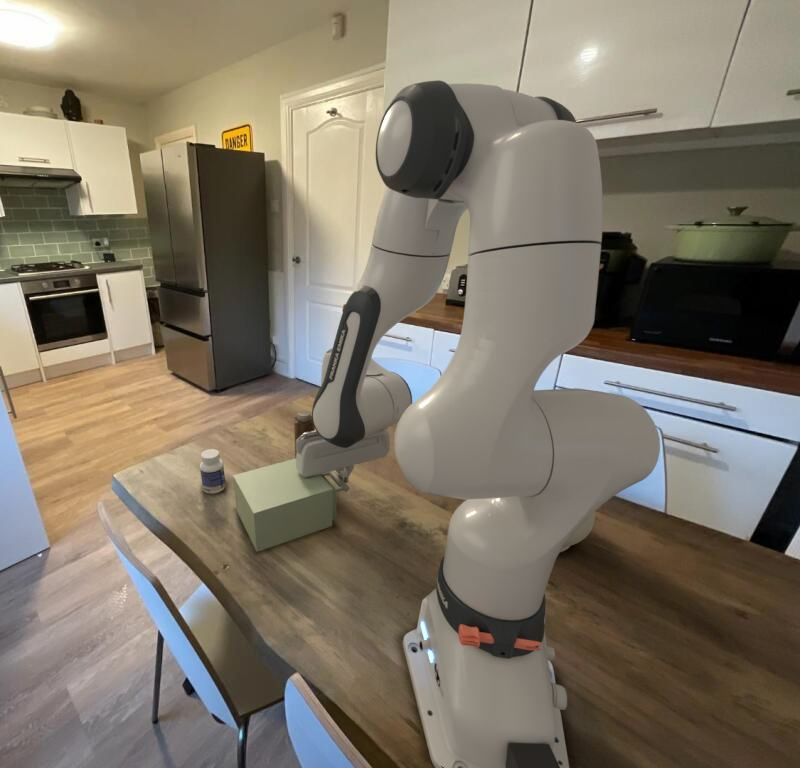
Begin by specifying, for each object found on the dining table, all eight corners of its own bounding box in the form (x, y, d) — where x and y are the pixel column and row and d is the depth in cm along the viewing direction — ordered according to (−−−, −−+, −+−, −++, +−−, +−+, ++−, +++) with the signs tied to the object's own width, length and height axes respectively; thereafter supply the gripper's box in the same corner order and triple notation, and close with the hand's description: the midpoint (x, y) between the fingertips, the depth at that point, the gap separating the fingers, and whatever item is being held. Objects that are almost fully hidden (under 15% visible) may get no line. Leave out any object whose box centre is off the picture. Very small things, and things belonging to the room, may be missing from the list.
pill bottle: (228, 490, 92) (224, 456, 88) (205, 496, 90) (200, 462, 86) (222, 478, 96) (219, 445, 93) (200, 483, 94) (196, 450, 91)
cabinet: (304, 489, 91) (303, 456, 88) (332, 525, 80) (332, 488, 77) (236, 510, 85) (232, 475, 82) (256, 552, 74) (253, 513, 71)
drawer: (327, 481, 92) (327, 455, 89) (354, 512, 82) (355, 483, 79) (247, 505, 85) (245, 477, 83) (267, 541, 75) (265, 511, 73)
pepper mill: (313, 471, 97) (312, 418, 92) (293, 470, 98) (291, 416, 93) (316, 461, 101) (315, 409, 96) (297, 459, 103) (296, 407, 97)
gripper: (302, 442, 75) (303, 503, 80) (395, 420, 81) (392, 478, 86) (289, 427, 80) (292, 486, 85) (378, 408, 87) (375, 463, 92)
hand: (343, 482), depth 86 cm, fingers closed, pressing on drawer
